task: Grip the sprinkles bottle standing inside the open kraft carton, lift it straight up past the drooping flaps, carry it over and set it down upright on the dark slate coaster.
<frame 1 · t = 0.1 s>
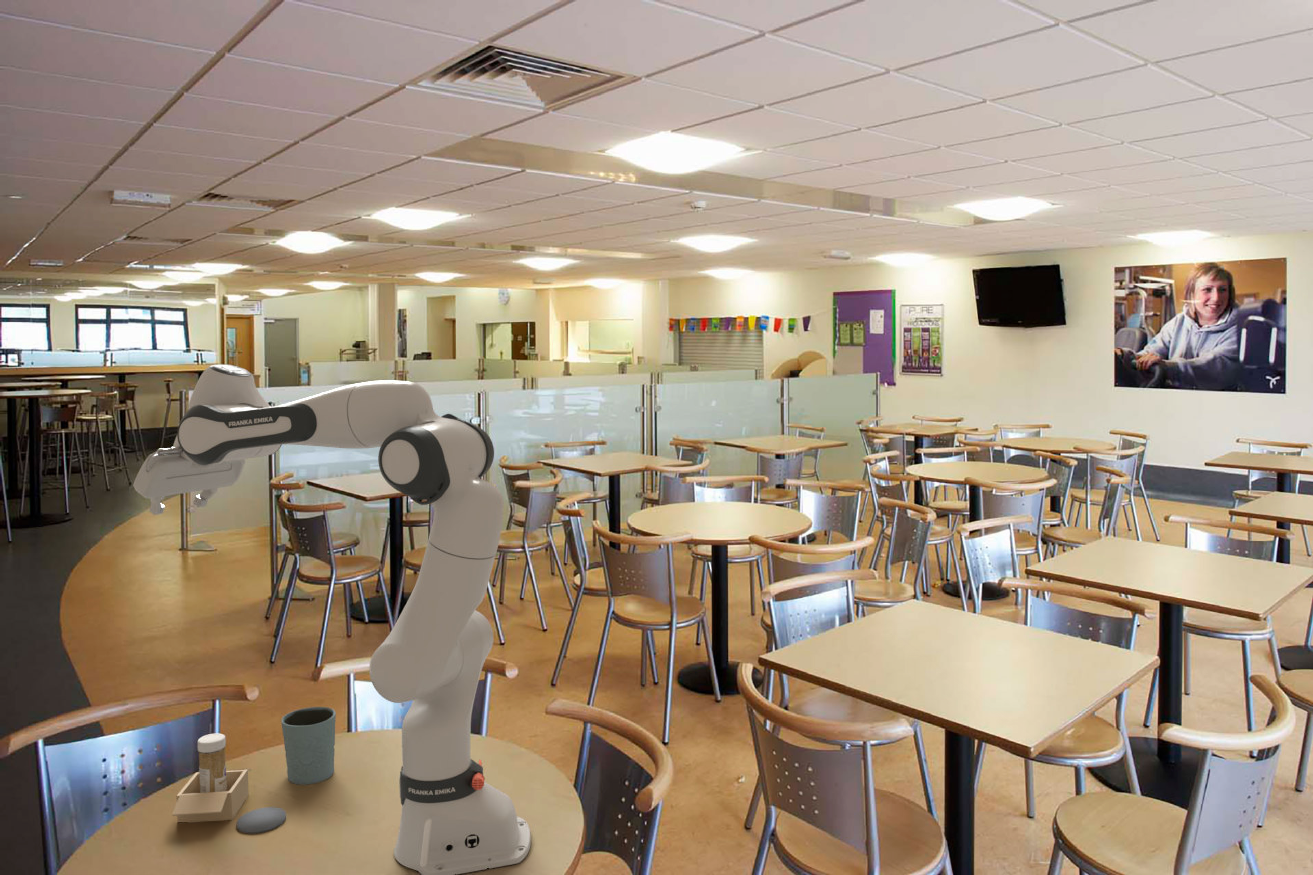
hand: (177, 509, 165), 54 cm above the table, tool tilted 30°, fingers open, 8 cm apart
carton: (214, 808, 162), on the table
coaster: (261, 821, 158), on the table
teal cup: (310, 775, 176), on the table
sprinkles bottle: (214, 809, 162), resting in carton
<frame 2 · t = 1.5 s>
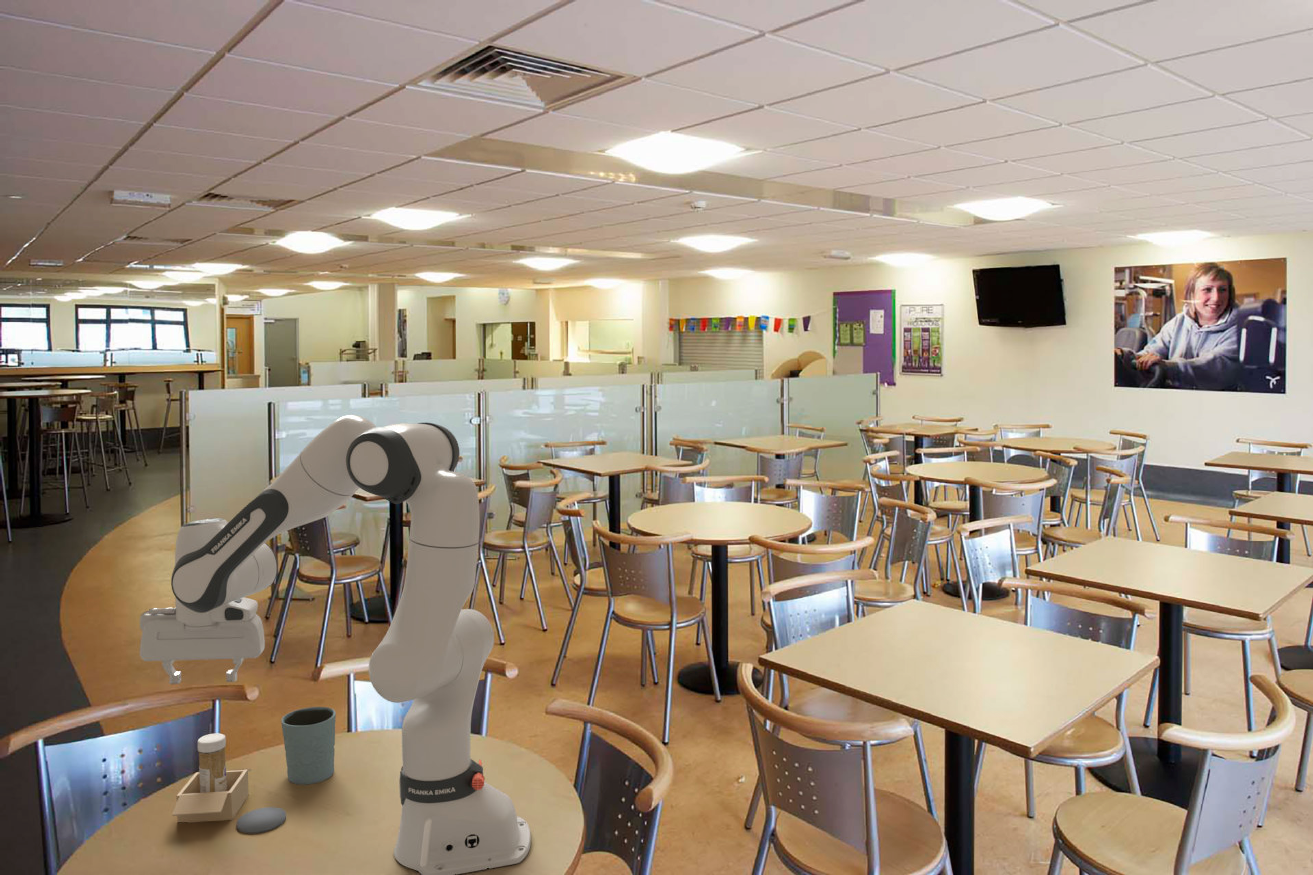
hand: (203, 681, 161), 24 cm above the table, tool pointing down, fingers open, 8 cm apart
nothing on the table moved.
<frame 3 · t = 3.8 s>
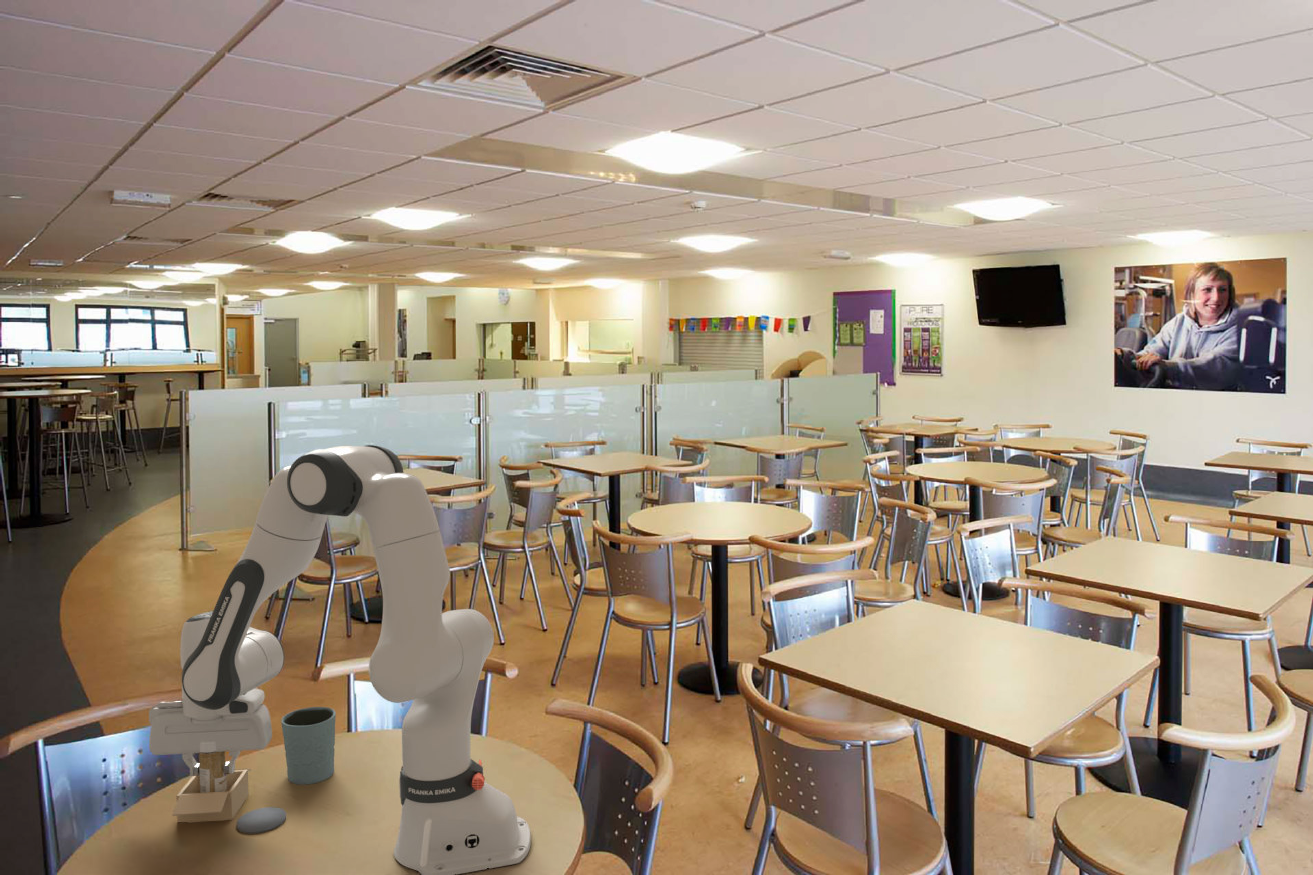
hand: (212, 773, 162), 7 cm above the table, tool pointing down, fingers closed on sprinkles bottle, 4 cm apart
sprinkles bottle: (214, 809, 162), resting in carton, touching gripper
everything else where it was.
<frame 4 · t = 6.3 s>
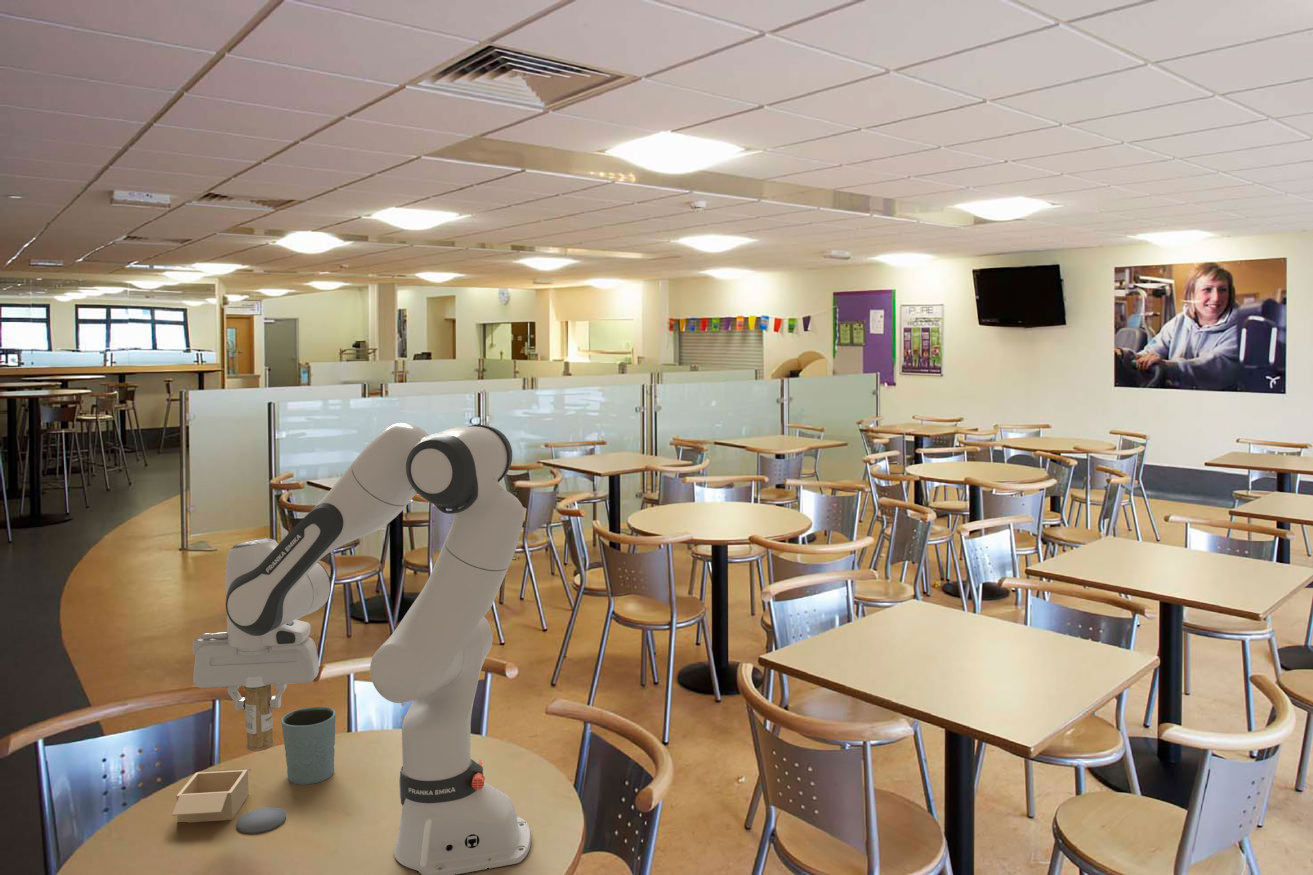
hand: (258, 708, 156), 21 cm above the table, tool pointing down, fingers closed on sprinkles bottle, 4 cm apart
sprinkles bottle: (259, 747, 157), point 13 cm above the table, touching gripper
everything else where it was.
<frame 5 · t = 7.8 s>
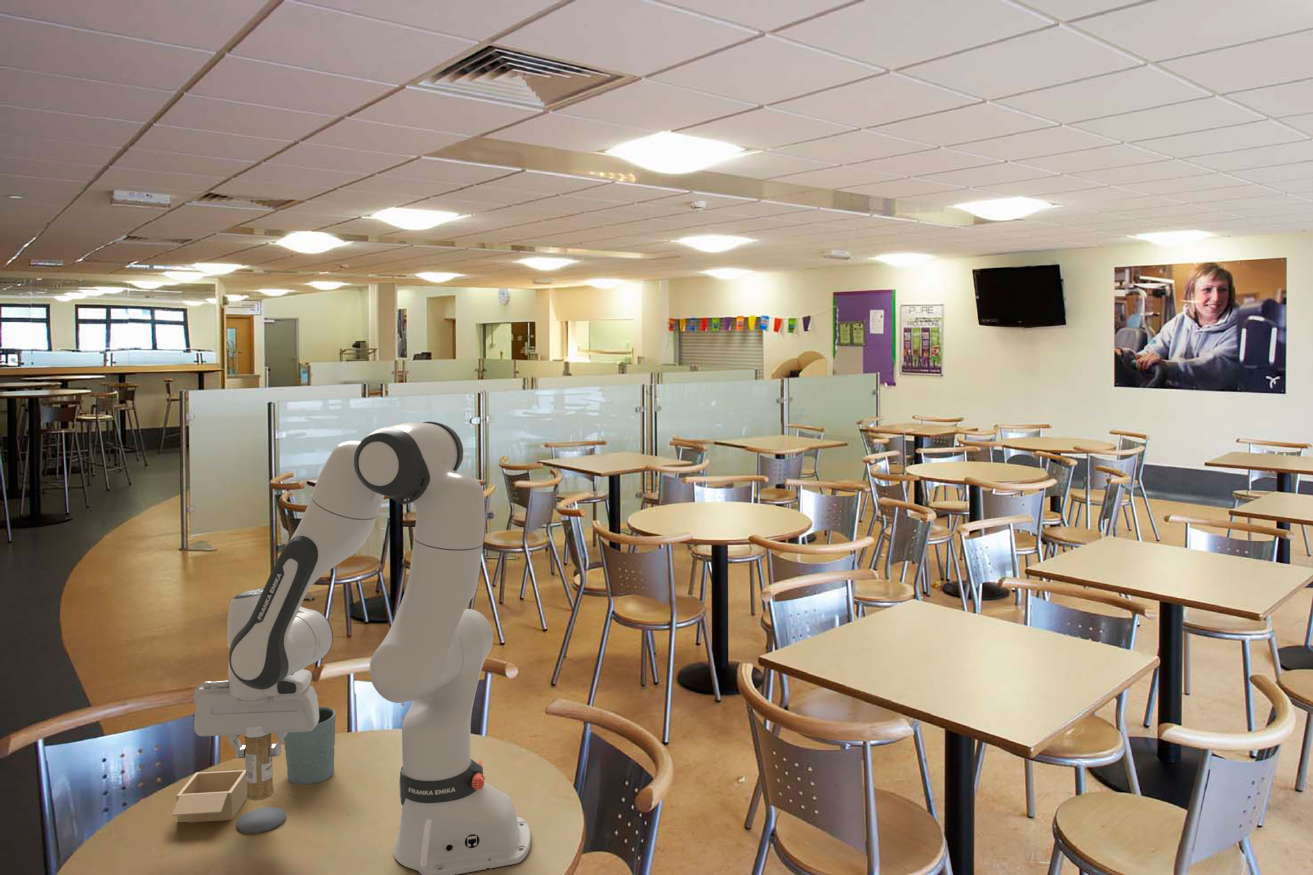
hand: (258, 756, 157), 12 cm above the table, tool pointing down, fingers closed on sprinkles bottle, 4 cm apart
sprinkles bottle: (260, 796, 158), point 5 cm above the table, touching gripper
everything else where it was.
when the fingers open (8 cm above the table, at t = 8.9 s): sprinkles bottle stays where it is, resting on coaster.
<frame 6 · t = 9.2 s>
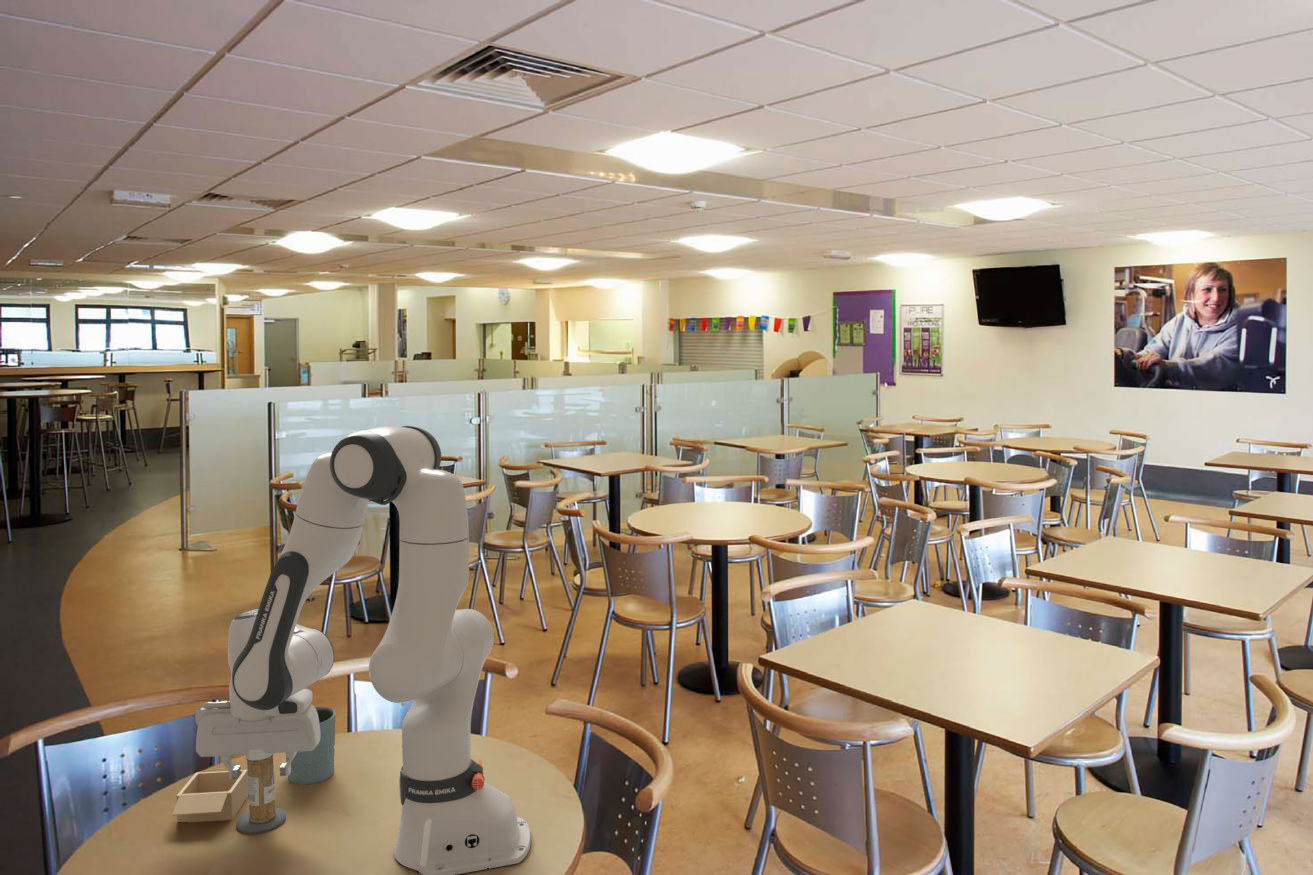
hand: (260, 775, 157), 8 cm above the table, tool pointing down, fingers open, 7 cm apart
sprinkles bottle: (262, 819, 158), resting on coaster
everything else where it was.
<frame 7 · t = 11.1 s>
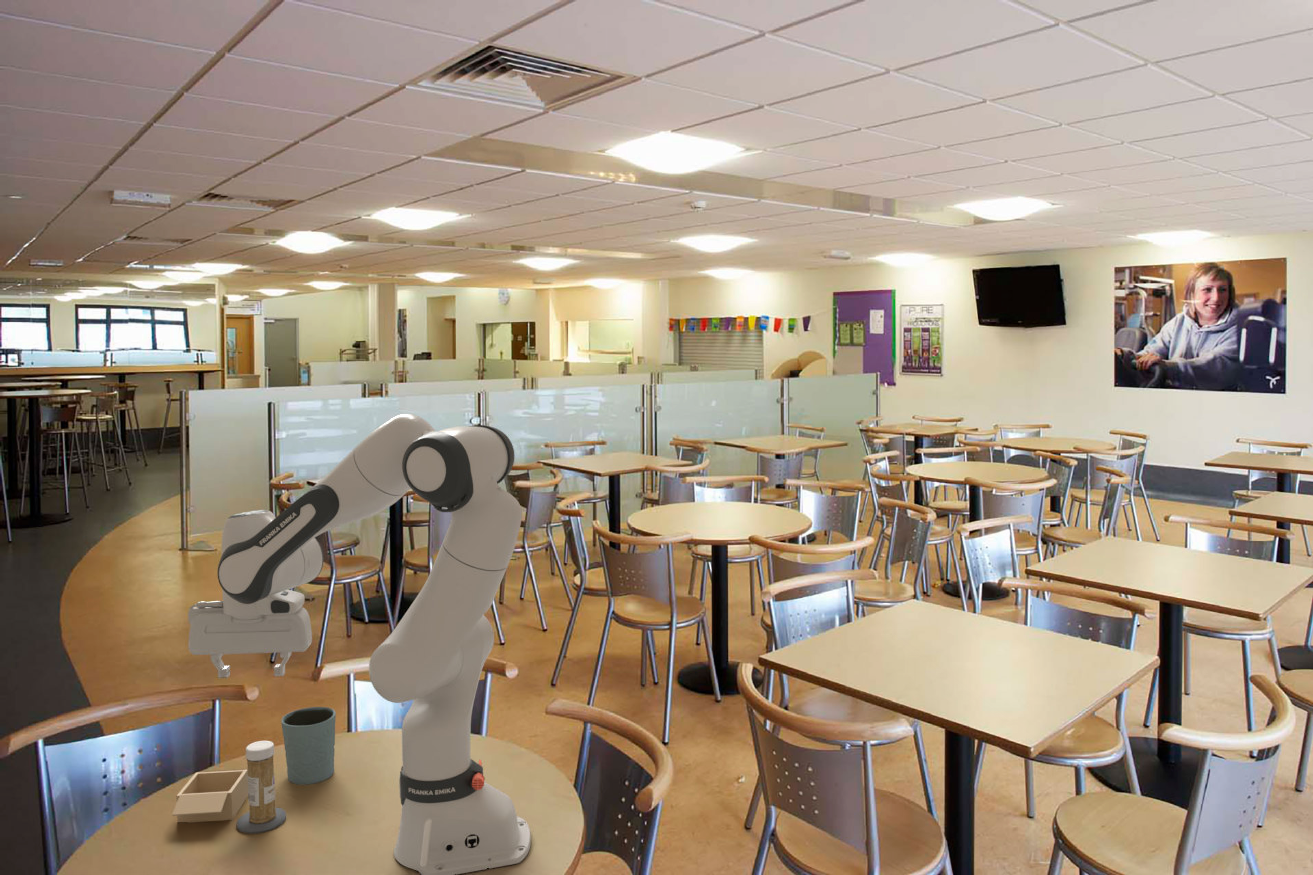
hand: (252, 676, 159), 25 cm above the table, tool pointing down, fingers open, 8 cm apart
nothing on the table moved.
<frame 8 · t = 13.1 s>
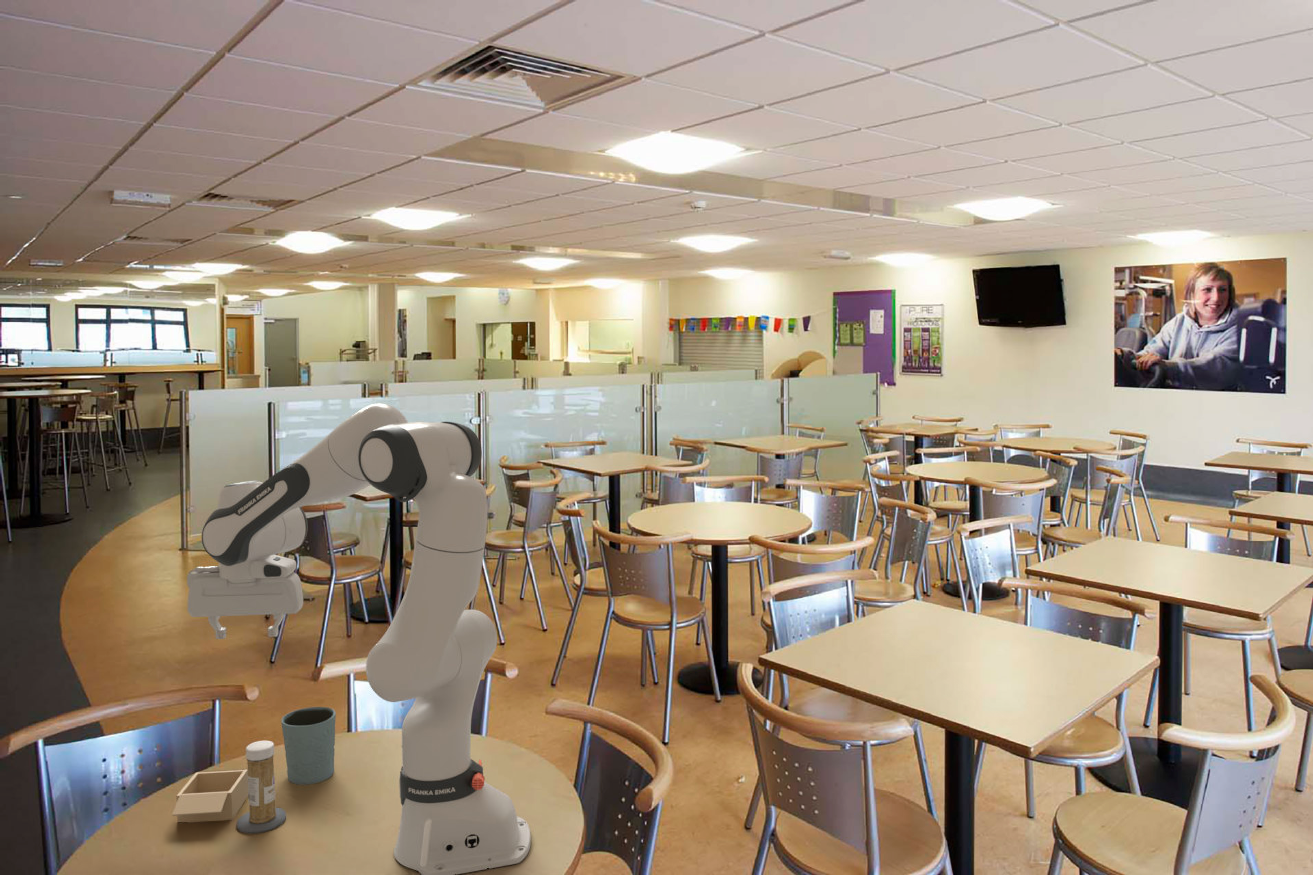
hand: (247, 637, 169), 29 cm above the table, tool pointing down, fingers open, 8 cm apart
nothing on the table moved.
at the end: sprinkles bottle 0.1 cm from the coaster (horizontally); sprinkles bottle tilted 0°; the gripper is holding nothing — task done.
